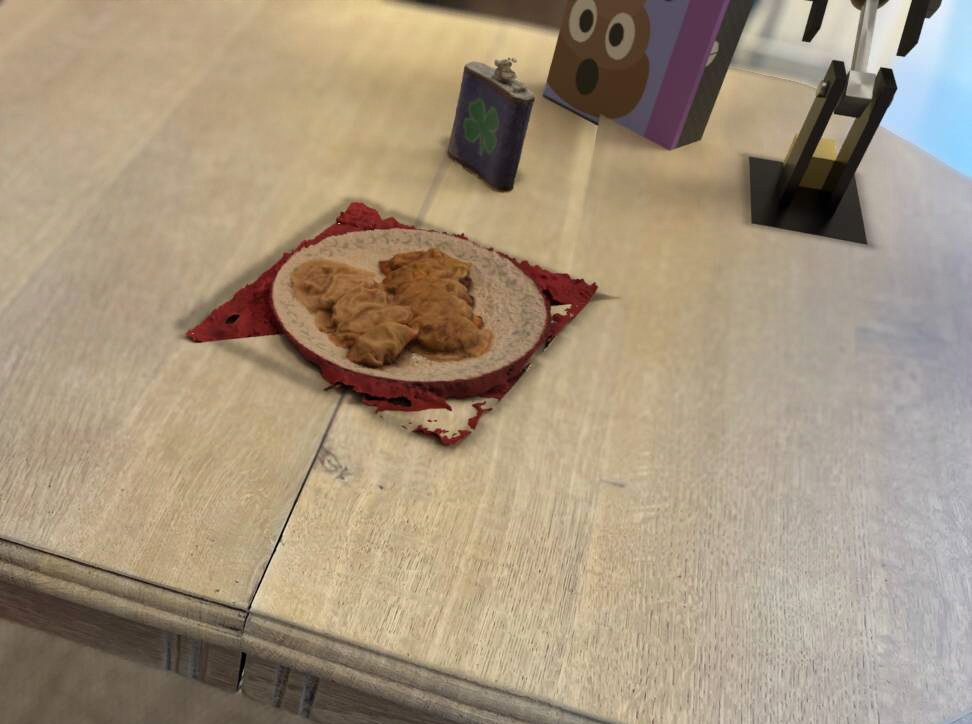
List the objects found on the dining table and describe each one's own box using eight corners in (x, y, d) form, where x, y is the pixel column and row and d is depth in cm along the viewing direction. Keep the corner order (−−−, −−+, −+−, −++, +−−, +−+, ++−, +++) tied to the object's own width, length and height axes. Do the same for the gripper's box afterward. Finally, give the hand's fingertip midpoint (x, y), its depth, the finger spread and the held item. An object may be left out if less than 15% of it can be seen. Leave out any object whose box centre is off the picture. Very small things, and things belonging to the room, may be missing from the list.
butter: (782, 162, 105) (796, 133, 103) (820, 169, 104) (834, 140, 102) (784, 183, 102) (798, 153, 100) (823, 190, 101) (838, 160, 99)
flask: (441, 153, 106) (463, 42, 98) (464, 148, 107) (488, 38, 99) (498, 195, 101) (526, 81, 93) (522, 189, 102) (552, 76, 94)
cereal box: (542, 96, 116) (609, -161, 99) (572, 87, 118) (643, -167, 101) (666, 161, 107) (764, -110, 89) (696, 150, 109) (799, -118, 91)
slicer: (744, 167, 106) (800, 35, 97) (849, 186, 105) (916, 52, 95) (746, 234, 97) (808, 95, 88) (861, 256, 95) (936, 116, 86)
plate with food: (594, 305, 89) (606, 268, 86) (453, 458, 74) (463, 419, 71) (352, 216, 98) (357, 181, 95) (184, 336, 83) (184, 297, 80)
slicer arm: (845, -13, 99) (863, -46, 95) (886, -7, 98) (906, -40, 94) (821, 117, 94) (840, 88, 91) (864, 124, 94) (884, 95, 90)
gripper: (1029, -168, 97) (958, 79, 98) (796, -194, 101) (730, 43, 102) (1079, -227, 89) (1001, 40, 91) (825, -253, 93) (754, 3, 94)
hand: (858, 41), depth 96 cm, fingers open, 8 cm apart
